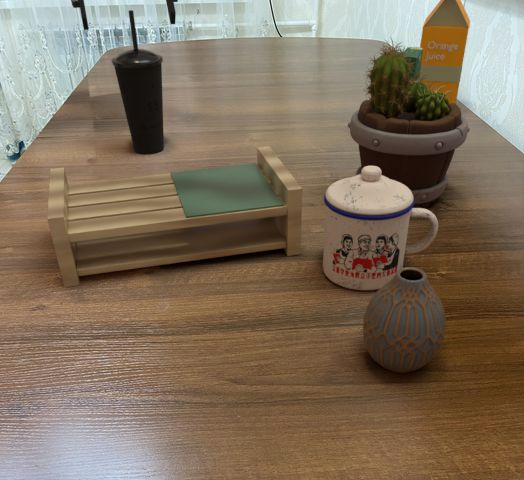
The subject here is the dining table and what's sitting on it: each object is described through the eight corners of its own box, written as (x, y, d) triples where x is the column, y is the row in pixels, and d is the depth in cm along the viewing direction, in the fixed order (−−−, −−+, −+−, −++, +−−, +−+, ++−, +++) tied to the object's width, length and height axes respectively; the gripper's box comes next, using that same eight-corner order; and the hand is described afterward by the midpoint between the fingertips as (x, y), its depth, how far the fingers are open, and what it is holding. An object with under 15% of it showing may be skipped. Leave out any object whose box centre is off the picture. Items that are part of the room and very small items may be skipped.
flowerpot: (424, 170, 90) (447, 19, 78) (475, 213, 78) (511, 42, 66) (330, 180, 88) (339, 25, 76) (367, 226, 76) (384, 51, 64)
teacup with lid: (322, 293, 64) (327, 186, 56) (318, 251, 71) (323, 152, 64) (438, 293, 63) (458, 186, 56) (422, 251, 70) (438, 151, 63)
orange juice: (410, 114, 112) (426, -11, 100) (414, 101, 118) (429, -18, 106) (454, 117, 110) (476, -10, 98) (455, 104, 117) (476, -17, 104)
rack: (64, 230, 76) (50, 168, 71) (269, 205, 81) (269, 146, 76) (64, 287, 65) (47, 218, 60) (300, 254, 70) (302, 188, 65)
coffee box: (397, 127, 106) (406, 45, 98) (413, 129, 105) (424, 45, 97) (388, 142, 100) (398, 55, 92) (406, 144, 99) (417, 56, 91)
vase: (362, 332, 58) (371, 250, 53) (437, 340, 57) (453, 257, 51) (356, 378, 53) (365, 292, 47) (438, 388, 51) (457, 300, 46)
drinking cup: (115, 151, 99) (92, 12, 87) (148, 138, 104) (130, 4, 91) (150, 160, 95) (131, 17, 83) (182, 146, 100) (168, 8, 88)
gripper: (21, -119, 91) (42, 9, 89) (185, -122, 96) (210, -1, 94) (31, -78, 99) (51, 42, 96) (184, -83, 103) (206, 31, 101)
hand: (129, 21), depth 95 cm, fingers open, 13 cm apart
